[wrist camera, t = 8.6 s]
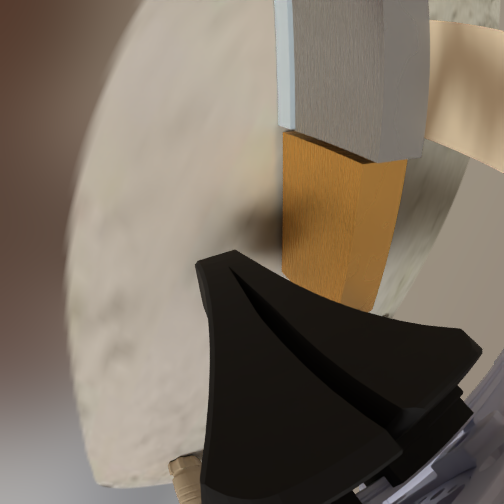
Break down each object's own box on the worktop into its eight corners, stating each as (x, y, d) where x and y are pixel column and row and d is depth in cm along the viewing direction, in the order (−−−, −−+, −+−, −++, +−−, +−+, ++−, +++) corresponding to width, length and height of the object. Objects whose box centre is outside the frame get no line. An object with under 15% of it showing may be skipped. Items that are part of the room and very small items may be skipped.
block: (430, 125, 12) (528, 169, 8) (385, 124, 11) (507, 175, 7) (435, 38, 10) (540, 64, 5) (388, 18, 8) (521, 35, 4)
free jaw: (317, 258, 14) (379, 317, 11) (281, 271, 14) (342, 338, 10) (325, 3, 8) (427, -6, 4) (278, -5, 7) (379, -31, 4)
